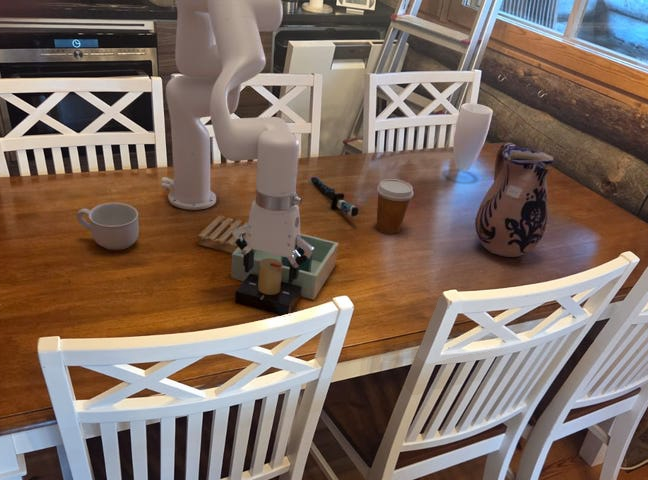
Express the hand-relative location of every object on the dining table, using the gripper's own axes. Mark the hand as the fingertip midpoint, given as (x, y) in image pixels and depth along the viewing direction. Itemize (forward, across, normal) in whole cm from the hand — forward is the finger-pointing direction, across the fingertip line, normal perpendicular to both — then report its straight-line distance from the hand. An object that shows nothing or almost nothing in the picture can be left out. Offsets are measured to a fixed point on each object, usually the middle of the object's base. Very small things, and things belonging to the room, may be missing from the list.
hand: (270, 275), depth 131 cm
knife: (+6, +2, -54) cm, 55 cm away
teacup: (+6, +42, -6) cm, 43 cm away
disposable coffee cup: (+6, -16, -47) cm, 50 cm away
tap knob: (+3, 0, 0) cm, 3 cm away
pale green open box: (+6, +1, -13) cm, 15 cm away
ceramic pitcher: (+7, -45, -52) cm, 69 cm away
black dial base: (+6, 0, 0) cm, 7 cm away
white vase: (+6, -29, -95) cm, 100 cm away
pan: (+6, +1, -13) cm, 15 cm away
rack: (+6, +18, -20) cm, 28 cm away
